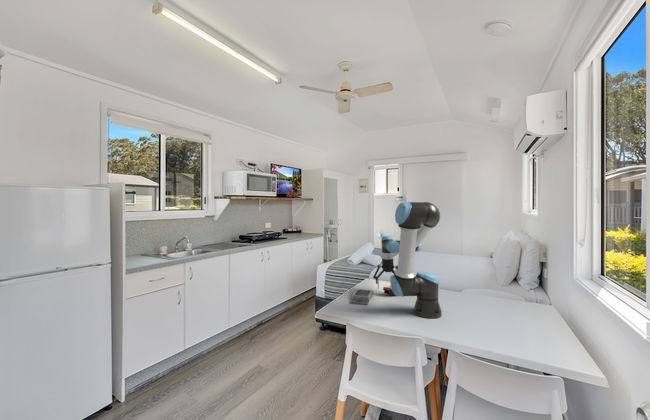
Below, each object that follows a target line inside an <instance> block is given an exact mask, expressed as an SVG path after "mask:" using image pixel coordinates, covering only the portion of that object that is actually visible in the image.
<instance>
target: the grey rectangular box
mask: <svg viewBox="0 0 650 420" xmlns="http://www.w3.org/2000/svg"><path fill="white" fill-rule="evenodd" d="M373 294H374V291H373V290H372V289H361V288H356V290H355V291H354V293H352V295H351V300H350V301H349V304H350V305H360V306H368V304H369V303H370V301H371V299H372V297H373Z"/></svg>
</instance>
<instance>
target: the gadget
mask: <svg viewBox="0 0 650 420" xmlns="http://www.w3.org/2000/svg"><path fill="white" fill-rule="evenodd" d="M382 291H383V293H384V294H386V295H392V296H396V295H395V294H394V293H393V291H392V288H391V284H390V285H389V286H383V287H382Z"/></svg>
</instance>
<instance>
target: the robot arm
mask: <svg viewBox="0 0 650 420" xmlns="http://www.w3.org/2000/svg"><path fill="white" fill-rule="evenodd" d="M394 217H395V219H394V220H395V223H396V224H397V226H398V228H399V229H400V237H399V240H398V239H397V240H394V238H393V236H392V235H382V236H381V241H380V242H381V258H382V260H381V263H382V264H381V265H380V264H378V265H377V268H376V271H375V272H374V275H373V276H372V278H373V279H374V280H375V285H377V290H379V289H380V276H382V275H383V273H384V272H385V273H392V274H391V276H390V278H389V281H390V285H391V288H392V291H393V293H394V294H395V295H394V296H396V297H416V301H415V302H414V306H413V313H414V314H415V315H417V316H419V317H420V318H423V319H424V318H426V319H438V318H441V317H442V315H443V311H442V308H441V305H440V303H439V285H440V282H439V277H438V276H437V275H436V274H434V273H431V272H427V271H417V272H415V271H414V269H415V268H414V267H415V260H416V259H415V257H416V253H417V252H420V251H421V249H422V241H424V239H425V238H426V236H427V235H428V234H429V233H430V231H431V230H432V229H433V228H436V226H437V225H438V224H439V223H440V220H441V212H440V210H439V208H438V207H437V206H436V204H434V203H431V202H429V201H424V202H421V201H420V202H419V201H406V202H405V201H403V202H401V203H399V204H398V205H397V207H396V209H395V214H394ZM397 253H398V260H397V264H396V265H394V259H393V258H394V254H397ZM380 269H382V270H381V271H380ZM379 271H380V272H379ZM378 272H379V273H378Z"/></svg>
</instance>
